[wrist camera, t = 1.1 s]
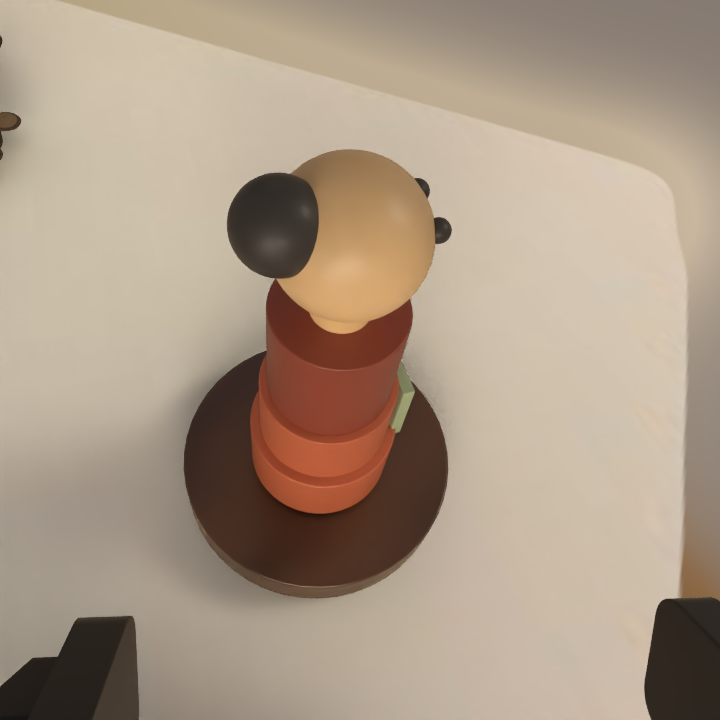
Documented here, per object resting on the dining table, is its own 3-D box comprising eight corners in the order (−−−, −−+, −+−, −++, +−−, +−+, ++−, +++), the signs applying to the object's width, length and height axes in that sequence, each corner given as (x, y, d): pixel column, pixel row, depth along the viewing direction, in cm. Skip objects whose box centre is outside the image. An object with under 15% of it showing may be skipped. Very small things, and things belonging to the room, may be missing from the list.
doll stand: (139, 538, 30) (131, 524, 28) (253, 331, 36) (253, 309, 34) (395, 641, 29) (402, 633, 27) (466, 410, 35) (476, 391, 33)
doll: (267, 534, 28) (261, 300, 14) (230, 411, 31) (195, 112, 17) (404, 490, 30) (523, 242, 16) (358, 377, 32) (424, 79, 18)
